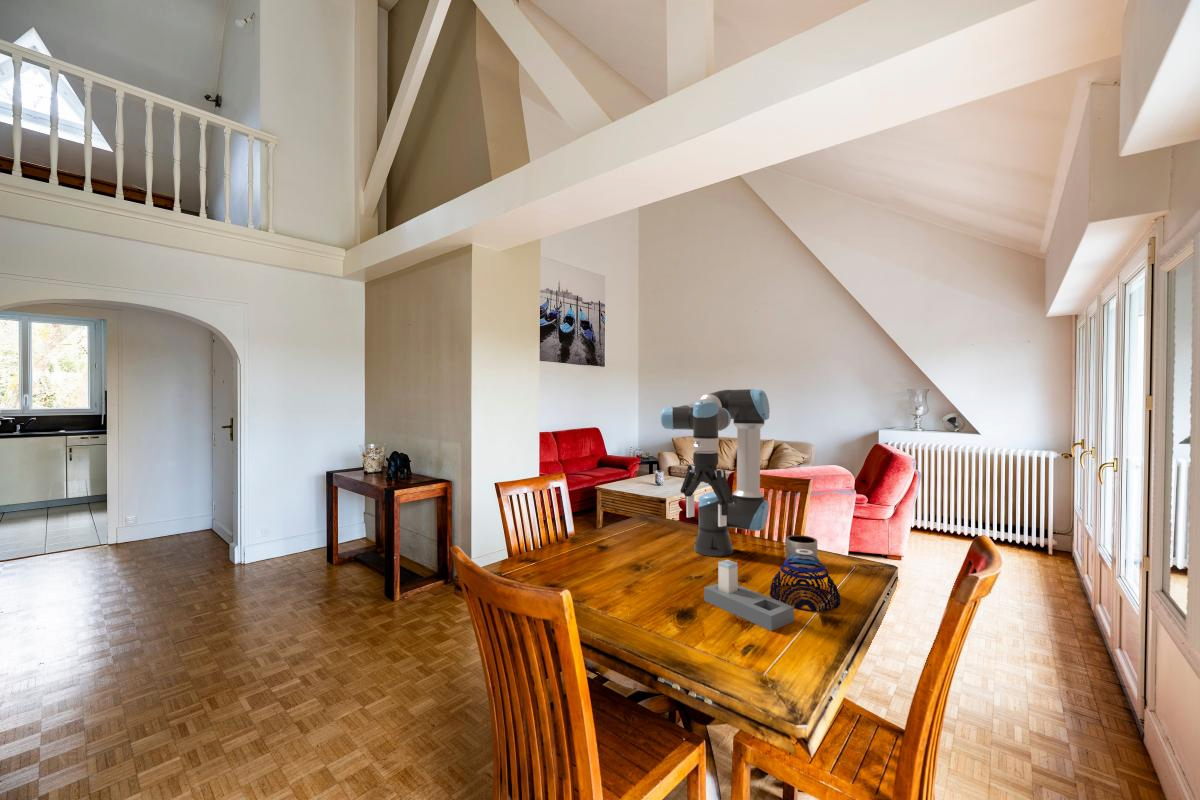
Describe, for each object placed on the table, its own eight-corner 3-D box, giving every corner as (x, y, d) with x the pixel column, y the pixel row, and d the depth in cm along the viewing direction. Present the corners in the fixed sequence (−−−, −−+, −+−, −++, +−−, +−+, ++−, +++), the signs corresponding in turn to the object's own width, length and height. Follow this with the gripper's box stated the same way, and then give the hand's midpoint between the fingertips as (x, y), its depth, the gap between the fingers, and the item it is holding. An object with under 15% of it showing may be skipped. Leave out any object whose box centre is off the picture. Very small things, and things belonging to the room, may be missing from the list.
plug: (727, 598, 152) (727, 559, 152) (737, 603, 149) (737, 563, 149) (718, 601, 150) (718, 562, 150) (728, 606, 147) (728, 565, 147)
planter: (785, 567, 180) (785, 541, 180) (786, 558, 190) (786, 533, 190) (818, 571, 176) (818, 544, 176) (817, 562, 186) (817, 536, 186)
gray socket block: (726, 593, 157) (726, 580, 157) (794, 621, 137) (794, 606, 137) (704, 600, 151) (704, 587, 151) (771, 631, 131) (771, 616, 131)
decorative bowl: (768, 606, 147) (768, 557, 147) (770, 582, 166) (770, 539, 166) (843, 616, 140) (843, 565, 140) (836, 590, 159) (836, 545, 159)
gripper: (669, 449, 160) (669, 514, 160) (727, 456, 139) (727, 532, 139) (687, 447, 164) (687, 511, 164) (746, 454, 143) (746, 528, 143)
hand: (705, 521), depth 152 cm, fingers open, 13 cm apart
